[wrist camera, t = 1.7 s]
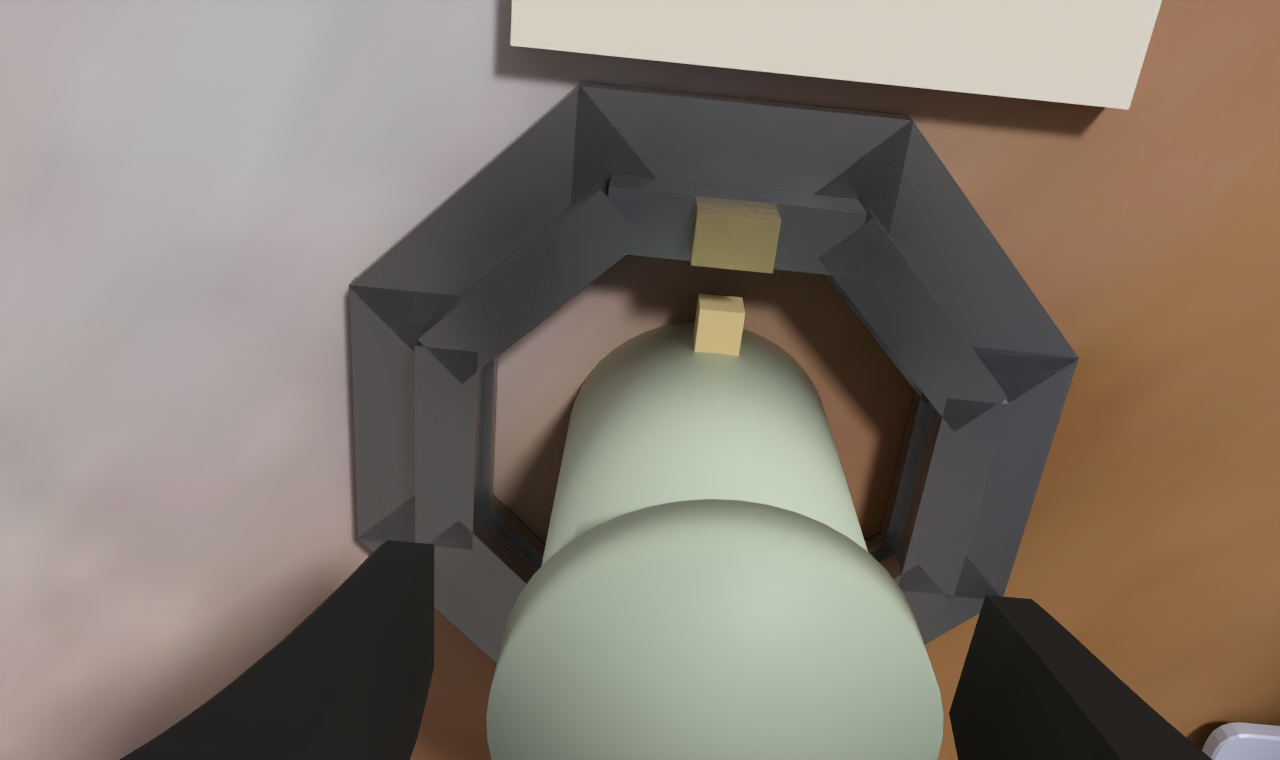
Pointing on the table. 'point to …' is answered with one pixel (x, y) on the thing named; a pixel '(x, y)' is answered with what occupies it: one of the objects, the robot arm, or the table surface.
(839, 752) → the pale green jar
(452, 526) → the bayonet collar
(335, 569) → the table surface
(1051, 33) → the plate
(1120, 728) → the robot arm
